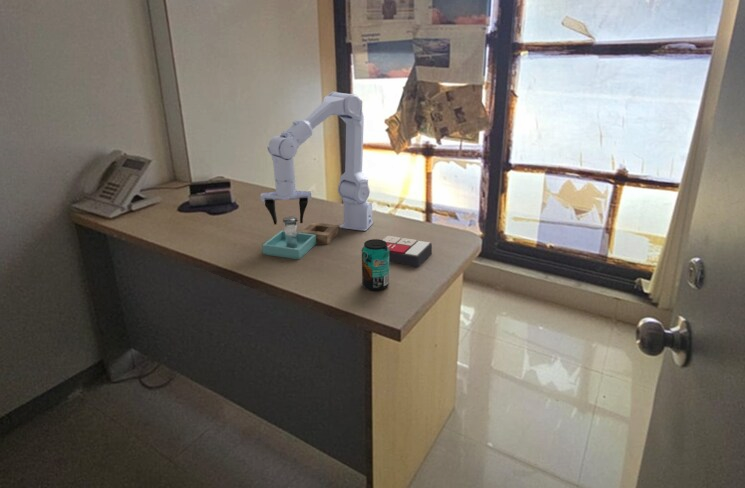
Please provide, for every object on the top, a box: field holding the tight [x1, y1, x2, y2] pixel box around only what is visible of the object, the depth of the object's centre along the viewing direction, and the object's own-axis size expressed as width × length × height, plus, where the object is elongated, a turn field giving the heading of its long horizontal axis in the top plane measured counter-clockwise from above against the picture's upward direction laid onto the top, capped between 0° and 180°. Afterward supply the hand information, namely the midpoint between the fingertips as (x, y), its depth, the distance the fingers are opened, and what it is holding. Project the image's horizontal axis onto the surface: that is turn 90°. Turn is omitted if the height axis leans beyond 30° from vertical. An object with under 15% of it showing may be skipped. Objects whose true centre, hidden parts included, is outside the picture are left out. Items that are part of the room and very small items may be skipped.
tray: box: [261, 229, 318, 260], centre depth 148 cm, size 12×12×3 cm
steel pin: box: [282, 215, 299, 248], centre depth 147 cm, size 4×4×9 cm
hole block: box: [300, 222, 339, 245], centre depth 156 cm, size 9×9×3 cm
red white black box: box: [382, 235, 433, 268], centre depth 143 cm, size 11×4×15 cm
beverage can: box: [361, 238, 390, 292], centre depth 125 cm, size 7×7×12 cm
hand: (288, 222), depth 145 cm, fingers open, 7 cm apart
